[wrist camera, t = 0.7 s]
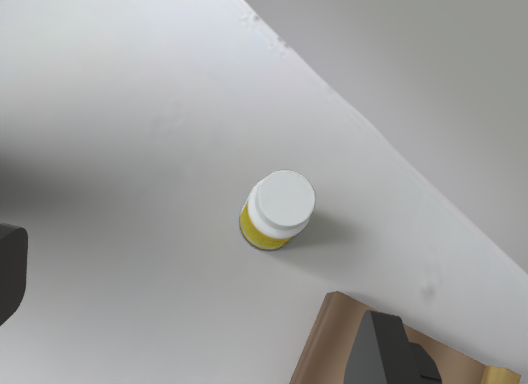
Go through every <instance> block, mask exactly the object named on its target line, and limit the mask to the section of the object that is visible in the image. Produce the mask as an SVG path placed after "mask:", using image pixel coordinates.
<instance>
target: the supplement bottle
mask: <svg viewBox="0 0 528 384" xmlns="http://www.w3.org/2000/svg"><path fill="white" fill-rule="evenodd" d="M314 207H315V193H314V190H313V187H312V185H311V184H310V182H309V181H308V180H307V179H306V178H305V177H304V176H302V175H301V174H299V173H297V172H294V171H291V170H279V171H276V172H273V173H271V174H270V175H268V176H267V177H266V178H264V179H262V180H261V181H259V182H258V183H257V184H256V185H255V186H254V187H253V189H252V190H251V192H250V194H249V196H248V198H247V200H246V202H245V204H244V206H243V208H242V210H241V213H240V216H239V229H240V233H241V235H242V237H243V238H244V240H245V241H246V242H247V243H248V244H249V245H250V246H252V247H253V248H255V249H258V250H262V251H273V250H277V249H279V248H281V247H283V246H284V245H285V244H287V243H288V242H289V241H290V240H292V239H293V238H294V237H295V236H296V235H298V234H299V233H300V232H301V231H302V230H303V229H304V228H305V227H306V225H307V224H308V222H309V219H310V216H311V214H312V212H313V210H314Z"/></svg>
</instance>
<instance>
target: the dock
mask: <svg viewBox="0 0 528 384" xmlns="http://www.w3.org/2000/svg"><path fill="white" fill-rule="evenodd" d="M368 309H369V310H373V311H377V310H375V309H373V308H371V307H369V306H367V305H365V304H363V303H361V302H359V301H357V300H355V299H353V298H351V297H349V296H347V295H345V294H343V293H341V292H339V291H336V292H332V293H327V294H326V296H325V299H324V301H323V304H322V306H321V309H320V311H319V313H318V316H317V318H316V321H315V323H314V325H313V328H312V330H311V333H310V335H309V337H308V340H307V342H306V345H305V347H304V350H303V352H302V354H301V357H300V359H299V362H298V364H297V366H296V369H295V371H294V374H293V376H292V378H291V381H290V383H289V384H343V381H344V373H345V368H346V364H347V361H348V358H349V355H350V352H351V349H352V346H353V343H354V340H355V337H356V334H357V331H358V328H359V325H360V323H361V320H362V317H363V315H364V313H365V311H366V310H368ZM377 312H379V311H377ZM403 326H404V329H405V332H406V335H407V338H408V341H409V342H413V343H417V344H420V345H421V346H422V347H423V348H424V350H425V351H426V352H427V353H428V354H429V355H430V357H431V358H432V359H433V360H434V361H435V363H436V365H437V368H438V371H439V373H440V376H441V378H442V384H519V382H520V378H521V375H519V374H517V373H515V372H513V371H511V370H509V369H507V368H501V367H493V366H486V365H484V364H482V363H480V362H478V361H476V360H474V359H472V358H470V357H468V356H466V355H464V354H462V353H460V352H458V351H456V350H454V349H452V348H450V347H448V346H446V345H444V344H442V343H440V342H438V341H436V340H434V339H432V338H430V337H428V336H426V335H424V334H422V333H420V332H418V331H416V330H414V329H412V328H410V327H408V326H406V325H404V324H403Z"/></svg>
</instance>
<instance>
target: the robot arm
mask: <svg viewBox="0 0 528 384" xmlns="http://www.w3.org/2000/svg"><path fill="white" fill-rule="evenodd" d="M27 250H28V234H27V231H26V230H25V229H24V228H21V227H17V226H13V225H9V224H4V223H0V326H1V325H2V324H3V323H4V322H5V321H6V320H7V319H8V318H9V317H10V316H12V315H13V314H14V312H15V311H16V310H17V309H18V307H19V305H20V303H21V301H22V299H23V296H24V293H25V288H26V271H27ZM343 384H442V378H441V376H440V373H439V371H438V368H437V365H436V363H435V361H434V360H433V359H432V358H431V357H430V355H429V354H428V353H427V352H426V351H425V350H424V348H423V347H422V346H421V345H420V344H417V343H413V342H409V341H408V338H407V335H406V332H405V329H404V326H403V323H402V320H401V318H400V317H399V316H394V315H390V314H386V313H381V312H377V311H373V310H369V309H368V310H366V311H365V313H364V315H363V317H362V320H361V323H360V325H359V328H358V331H357V334H356V337H355V340H354V343H353V346H352V349H351V352H350V355H349V358H348V361H347V364H346V368H345V373H344V381H343Z"/></svg>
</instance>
